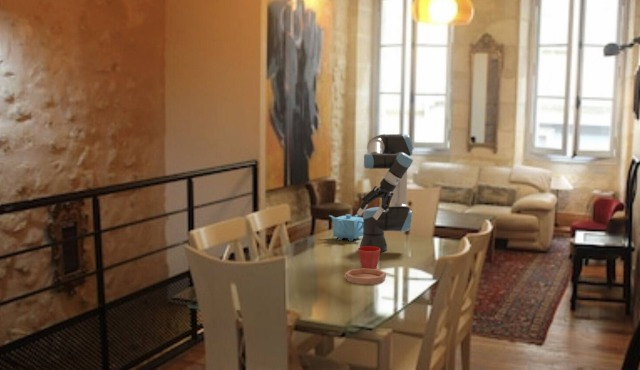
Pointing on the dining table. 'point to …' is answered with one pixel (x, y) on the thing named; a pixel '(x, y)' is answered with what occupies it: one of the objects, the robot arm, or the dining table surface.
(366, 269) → the terracotta saucer
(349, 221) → the teakettle
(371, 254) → the flower pot
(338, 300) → the dining table surface
